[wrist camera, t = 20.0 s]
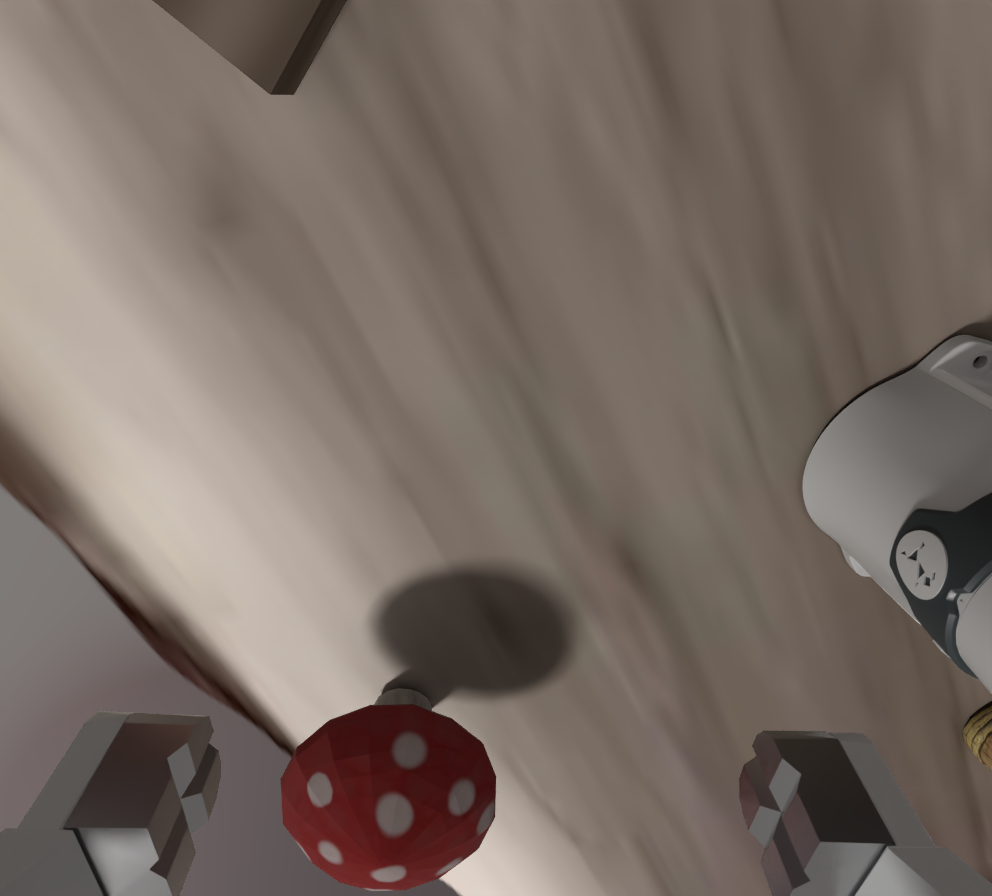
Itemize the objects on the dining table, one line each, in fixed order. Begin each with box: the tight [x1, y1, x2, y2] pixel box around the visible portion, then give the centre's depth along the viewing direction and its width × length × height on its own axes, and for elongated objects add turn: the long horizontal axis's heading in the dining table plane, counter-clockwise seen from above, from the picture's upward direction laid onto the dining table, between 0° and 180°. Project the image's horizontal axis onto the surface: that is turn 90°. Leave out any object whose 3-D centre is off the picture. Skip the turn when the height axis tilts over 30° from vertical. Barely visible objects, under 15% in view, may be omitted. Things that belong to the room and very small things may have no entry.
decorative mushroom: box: [281, 688, 496, 891], centre depth 48 cm, size 16×16×15 cm
